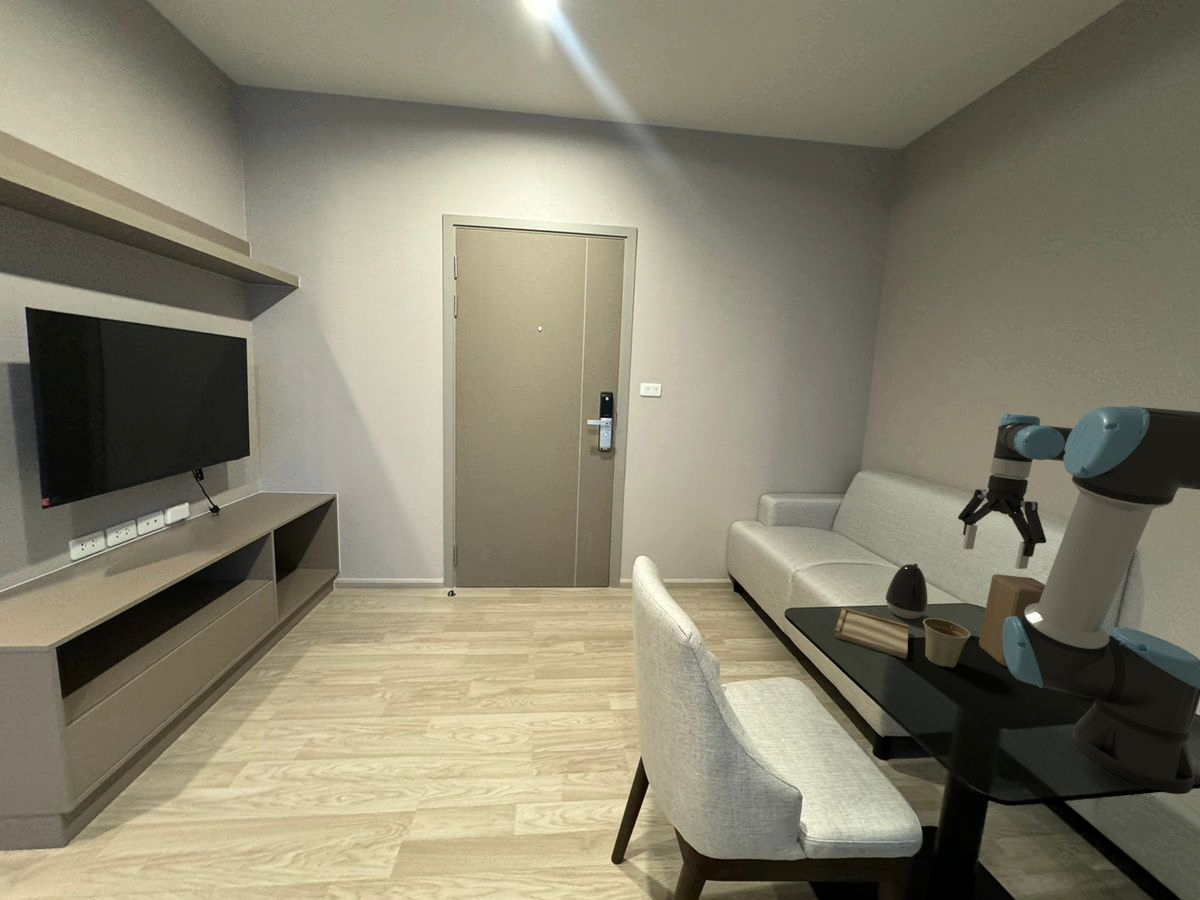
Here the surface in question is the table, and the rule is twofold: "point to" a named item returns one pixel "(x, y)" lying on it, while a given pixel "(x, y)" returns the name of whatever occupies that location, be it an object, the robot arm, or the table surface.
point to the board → (873, 632)
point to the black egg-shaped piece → (907, 593)
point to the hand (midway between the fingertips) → (993, 558)
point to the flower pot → (944, 641)
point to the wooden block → (1006, 609)
